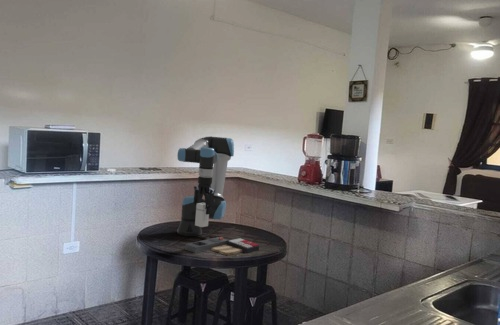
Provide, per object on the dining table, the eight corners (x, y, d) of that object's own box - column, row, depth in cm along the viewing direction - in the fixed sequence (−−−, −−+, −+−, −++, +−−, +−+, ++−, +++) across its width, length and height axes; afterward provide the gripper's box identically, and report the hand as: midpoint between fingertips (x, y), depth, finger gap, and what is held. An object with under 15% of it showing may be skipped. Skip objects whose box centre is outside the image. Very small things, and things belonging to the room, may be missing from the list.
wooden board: (211, 250, 224) (211, 247, 224) (225, 246, 233) (226, 244, 233) (227, 255, 216) (227, 253, 216) (242, 251, 226) (242, 249, 226)
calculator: (247, 247, 223) (227, 239, 233) (246, 255, 224) (226, 247, 233) (259, 244, 232) (239, 237, 241) (258, 251, 232) (239, 244, 242)
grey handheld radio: (195, 253, 216) (195, 246, 215) (184, 249, 221) (185, 242, 220) (234, 243, 240) (234, 237, 240) (224, 240, 245) (224, 234, 245)
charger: (194, 225, 223) (196, 203, 222) (201, 224, 227) (203, 202, 226) (201, 227, 219) (203, 204, 218) (208, 226, 223) (209, 203, 222)
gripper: (188, 174, 224) (185, 216, 225) (212, 179, 212) (209, 223, 214) (198, 174, 229) (195, 215, 231) (222, 178, 218) (219, 221, 220)
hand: (202, 218), depth 223 cm, fingers closed on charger, 5 cm apart
